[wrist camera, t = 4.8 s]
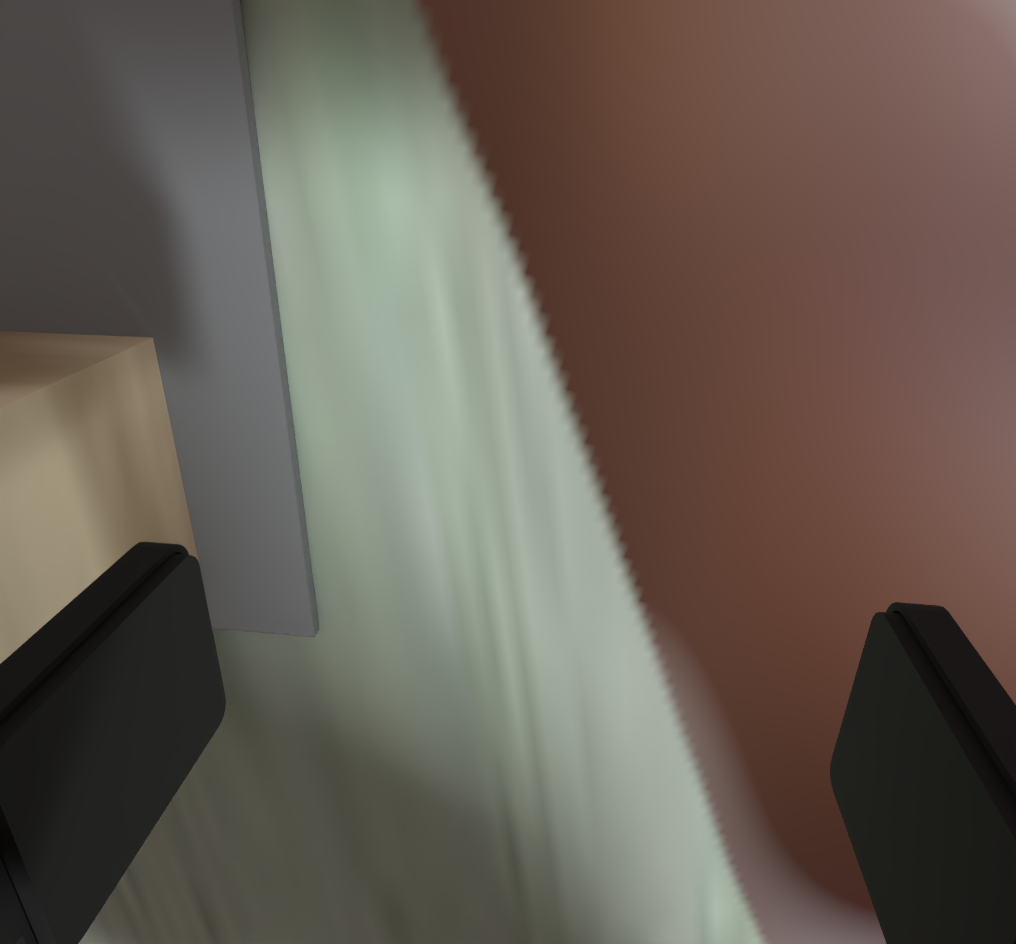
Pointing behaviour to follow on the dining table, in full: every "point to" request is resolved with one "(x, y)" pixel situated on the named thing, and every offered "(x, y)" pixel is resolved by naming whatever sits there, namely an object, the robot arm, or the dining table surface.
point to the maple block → (79, 469)
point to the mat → (162, 259)
